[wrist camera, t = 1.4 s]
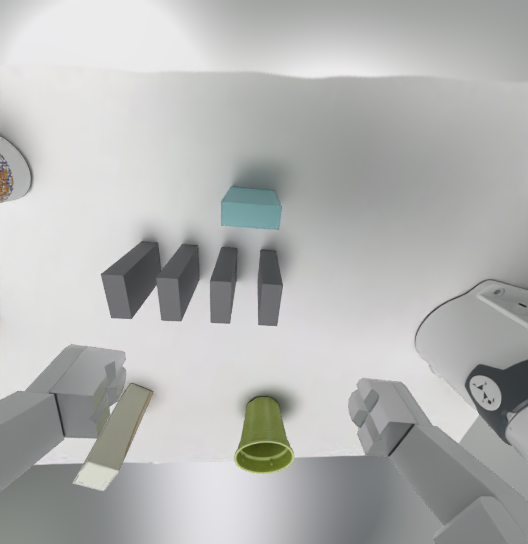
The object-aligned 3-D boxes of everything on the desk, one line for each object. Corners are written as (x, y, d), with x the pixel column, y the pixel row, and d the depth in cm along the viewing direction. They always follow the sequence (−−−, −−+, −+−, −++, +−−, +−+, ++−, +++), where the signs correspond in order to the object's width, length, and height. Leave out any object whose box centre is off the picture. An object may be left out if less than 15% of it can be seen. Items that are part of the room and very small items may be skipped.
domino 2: (198, 245, 31) (177, 278, 23) (199, 279, 33) (181, 321, 25) (182, 244, 31) (156, 277, 23) (184, 278, 33) (161, 320, 25)
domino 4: (231, 186, 28) (221, 201, 20) (274, 190, 28) (281, 206, 20) (230, 204, 29) (221, 225, 21) (272, 207, 29) (279, 229, 21)
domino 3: (237, 248, 31) (231, 282, 23) (235, 282, 33) (229, 323, 25) (221, 247, 31) (210, 280, 23) (221, 281, 33) (210, 322, 25)
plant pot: (286, 421, 48) (292, 473, 40) (239, 422, 48) (235, 475, 40) (288, 388, 44) (295, 440, 36) (236, 390, 43) (232, 442, 36)
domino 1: (157, 242, 31) (123, 275, 23) (161, 277, 33) (131, 319, 25) (141, 241, 30) (100, 274, 22) (146, 276, 33) (111, 318, 25)
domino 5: (275, 251, 32) (282, 285, 24) (271, 284, 34) (277, 325, 26) (260, 249, 31) (262, 283, 23) (257, 283, 34) (258, 325, 26)
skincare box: (140, 409, 45) (103, 492, 34) (116, 401, 44) (71, 484, 33) (154, 390, 43) (120, 472, 32) (130, 381, 42) (85, 463, 31)
